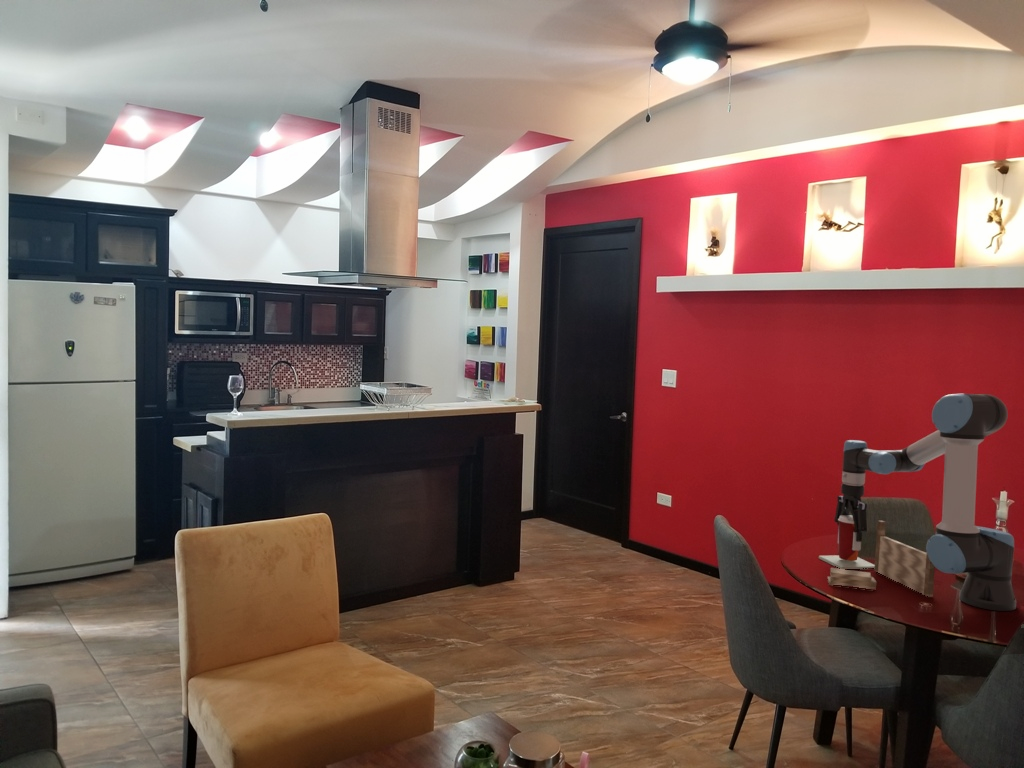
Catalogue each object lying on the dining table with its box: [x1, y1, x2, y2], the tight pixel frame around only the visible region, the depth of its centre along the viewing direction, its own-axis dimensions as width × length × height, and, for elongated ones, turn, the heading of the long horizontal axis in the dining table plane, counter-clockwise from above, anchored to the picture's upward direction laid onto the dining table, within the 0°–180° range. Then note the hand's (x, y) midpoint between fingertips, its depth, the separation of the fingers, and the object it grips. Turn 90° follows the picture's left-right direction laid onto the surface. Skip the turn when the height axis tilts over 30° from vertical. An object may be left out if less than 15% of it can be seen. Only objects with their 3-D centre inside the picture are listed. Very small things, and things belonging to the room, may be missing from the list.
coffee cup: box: [838, 514, 859, 561], centre depth 283 cm, size 8×8×15 cm
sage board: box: [818, 554, 875, 570], centre depth 283 cm, size 14×14×1 cm
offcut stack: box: [827, 567, 878, 590], centre depth 258 cm, size 14×7×4 cm, turn 72°
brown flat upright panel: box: [873, 520, 936, 598], centre depth 261 cm, size 26×2×18 cm, turn 11°
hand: (848, 546), depth 283 cm, fingers closed on coffee cup, 8 cm apart
